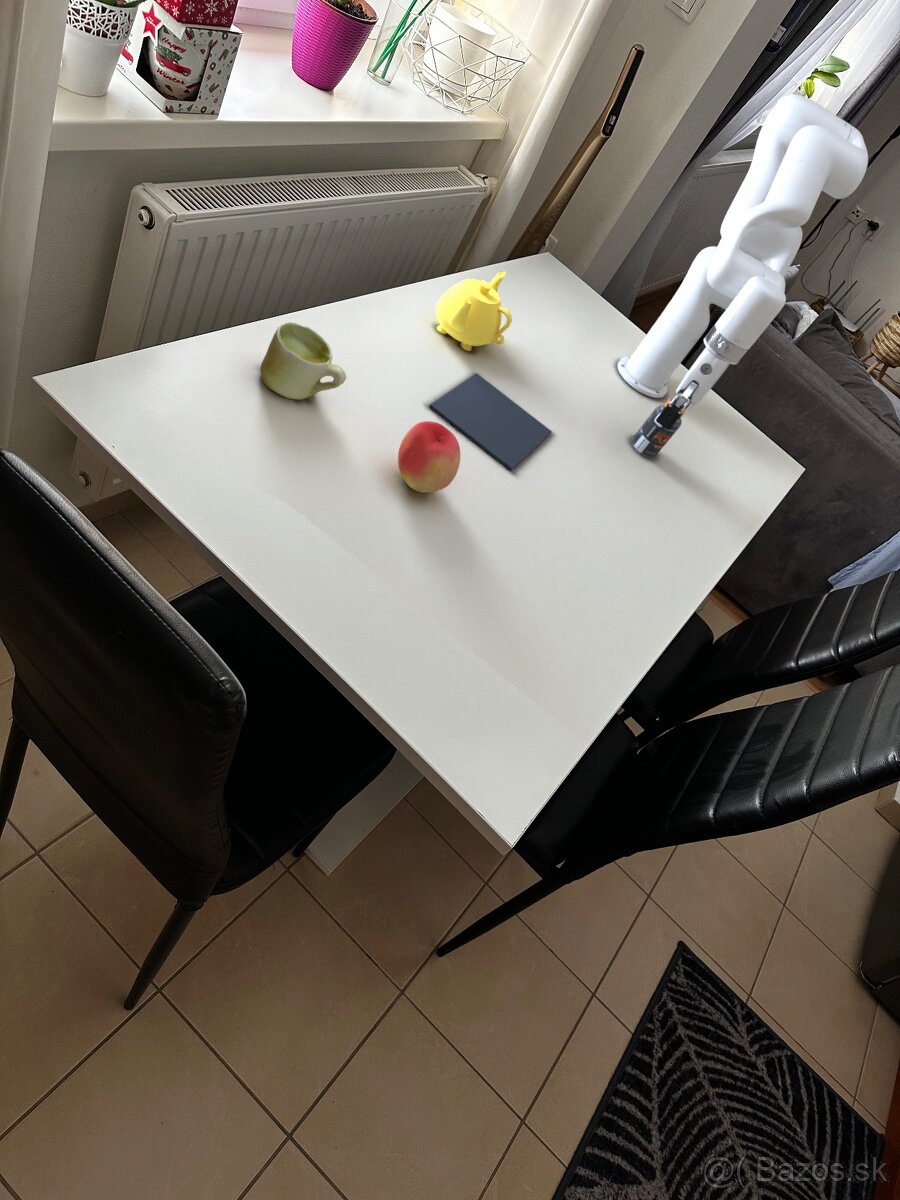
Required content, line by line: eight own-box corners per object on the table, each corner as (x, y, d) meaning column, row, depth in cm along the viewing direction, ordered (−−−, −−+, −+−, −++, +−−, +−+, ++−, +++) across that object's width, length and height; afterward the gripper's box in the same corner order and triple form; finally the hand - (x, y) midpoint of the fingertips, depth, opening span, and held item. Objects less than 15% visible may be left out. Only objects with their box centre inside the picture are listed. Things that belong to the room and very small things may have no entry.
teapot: (476, 376, 160) (504, 326, 152) (411, 331, 160) (436, 278, 152) (511, 341, 175) (539, 294, 167) (452, 299, 175) (477, 250, 167)
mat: (475, 375, 160) (476, 372, 160) (550, 433, 159) (552, 431, 159) (428, 406, 147) (430, 404, 147) (510, 471, 146) (512, 468, 146)
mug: (237, 363, 128) (277, 314, 124) (268, 360, 138) (307, 314, 134) (292, 424, 129) (334, 378, 125) (320, 417, 138) (360, 373, 134)
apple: (376, 481, 129) (402, 432, 122) (399, 451, 136) (425, 403, 129) (430, 515, 129) (459, 468, 123) (451, 484, 136) (479, 438, 130)
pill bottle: (640, 458, 168) (675, 415, 161) (625, 437, 171) (658, 393, 163) (660, 458, 172) (695, 416, 164) (645, 437, 174) (679, 395, 167)
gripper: (732, 370, 147) (673, 444, 158) (751, 344, 160) (695, 414, 171) (697, 344, 148) (640, 419, 159) (719, 320, 161) (665, 391, 172)
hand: (669, 416), depth 165 cm, fingers open, 9 cm apart
